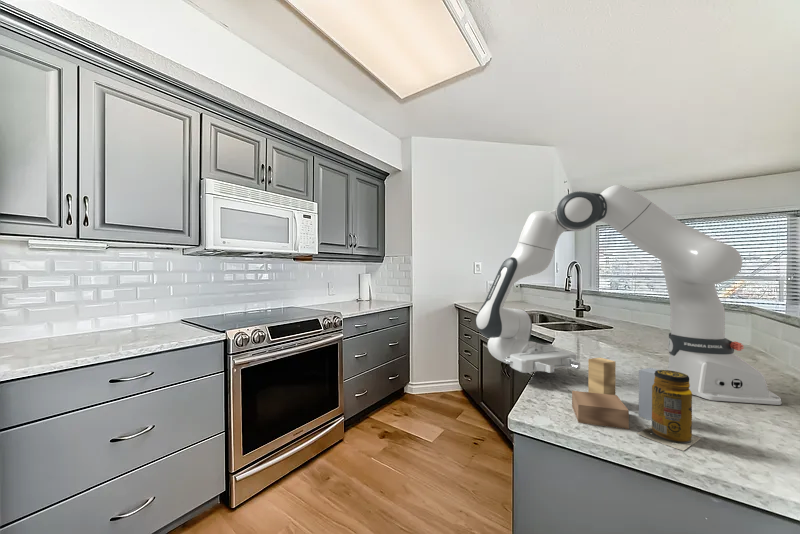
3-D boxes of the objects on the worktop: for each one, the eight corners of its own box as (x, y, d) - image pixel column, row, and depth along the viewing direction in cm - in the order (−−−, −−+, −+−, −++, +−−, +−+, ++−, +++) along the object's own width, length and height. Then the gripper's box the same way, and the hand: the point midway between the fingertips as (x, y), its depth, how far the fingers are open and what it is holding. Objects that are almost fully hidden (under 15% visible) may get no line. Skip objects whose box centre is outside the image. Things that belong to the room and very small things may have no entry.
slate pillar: (650, 413, 77) (650, 367, 77) (670, 420, 73) (670, 372, 73) (638, 416, 75) (638, 369, 75) (658, 423, 72) (658, 374, 72)
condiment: (701, 439, 65) (700, 374, 65) (683, 451, 61) (683, 382, 61) (655, 424, 71) (655, 365, 71) (636, 435, 67) (636, 372, 67)
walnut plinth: (616, 413, 78) (616, 395, 78) (628, 430, 69) (628, 410, 69) (572, 407, 80) (572, 390, 81) (578, 424, 72) (578, 404, 72)
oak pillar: (599, 398, 86) (599, 357, 86) (615, 403, 82) (615, 361, 82) (588, 400, 84) (588, 358, 84) (603, 406, 81) (603, 363, 81)
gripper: (500, 348, 102) (535, 359, 89) (553, 343, 110) (592, 352, 97) (500, 369, 102) (535, 384, 89) (553, 363, 110) (592, 375, 97)
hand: (565, 367), depth 93 cm, fingers open, 8 cm apart
